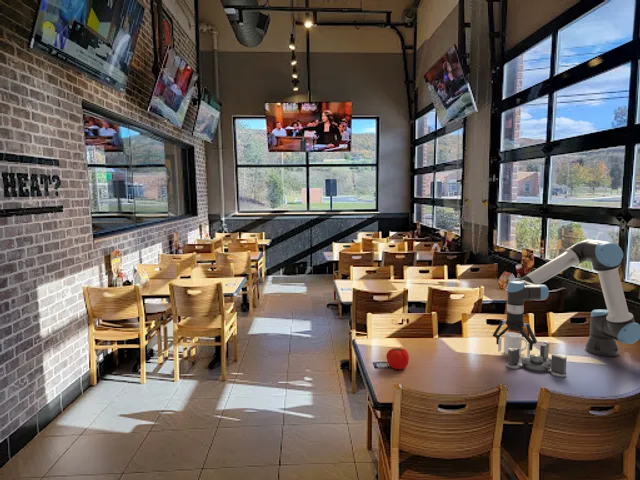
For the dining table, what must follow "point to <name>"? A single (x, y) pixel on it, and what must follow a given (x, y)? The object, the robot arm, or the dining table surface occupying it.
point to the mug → (513, 341)
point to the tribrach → (536, 365)
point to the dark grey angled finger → (513, 356)
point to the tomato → (397, 358)
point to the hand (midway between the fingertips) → (513, 353)
